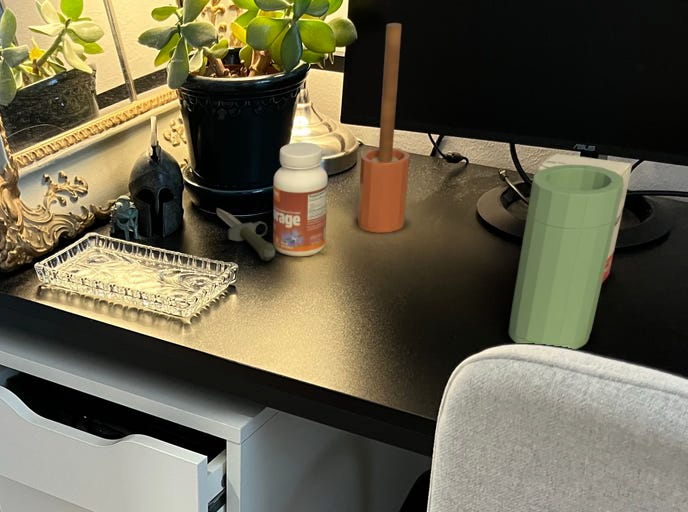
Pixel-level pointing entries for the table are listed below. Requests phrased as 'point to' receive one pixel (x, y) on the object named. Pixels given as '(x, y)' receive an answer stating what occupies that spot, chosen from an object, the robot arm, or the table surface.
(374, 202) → the brush cup
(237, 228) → the knife
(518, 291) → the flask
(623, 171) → the ink box
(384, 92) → the brush
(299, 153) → the pill bottle
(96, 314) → the table surface
